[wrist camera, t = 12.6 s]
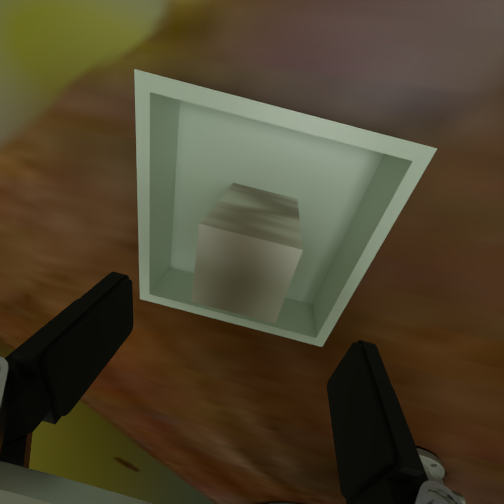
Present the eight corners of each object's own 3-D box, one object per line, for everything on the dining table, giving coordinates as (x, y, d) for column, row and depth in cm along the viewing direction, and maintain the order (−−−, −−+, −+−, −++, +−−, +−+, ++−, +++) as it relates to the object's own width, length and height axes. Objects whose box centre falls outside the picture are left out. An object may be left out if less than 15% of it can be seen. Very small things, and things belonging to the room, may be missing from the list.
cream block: (297, 198, 18) (302, 250, 11) (279, 253, 21) (275, 323, 14) (233, 182, 18) (199, 224, 11) (223, 239, 21) (190, 301, 14)
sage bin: (397, 139, 16) (437, 148, 12) (316, 305, 24) (322, 346, 20) (175, 81, 16) (134, 69, 12) (166, 266, 24) (139, 298, 20)
